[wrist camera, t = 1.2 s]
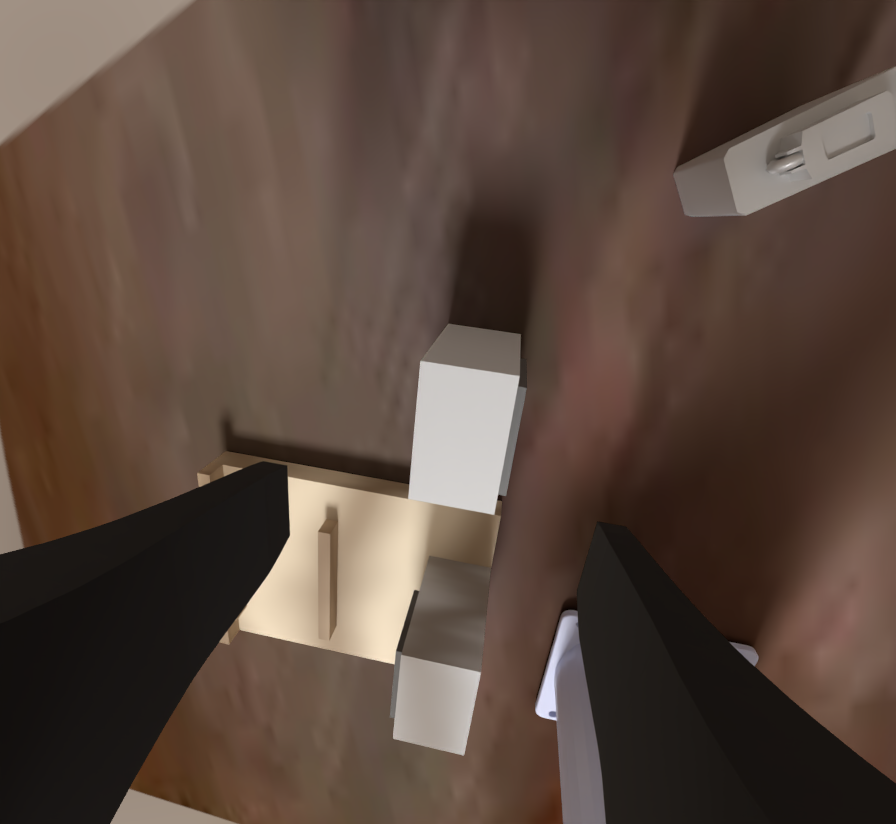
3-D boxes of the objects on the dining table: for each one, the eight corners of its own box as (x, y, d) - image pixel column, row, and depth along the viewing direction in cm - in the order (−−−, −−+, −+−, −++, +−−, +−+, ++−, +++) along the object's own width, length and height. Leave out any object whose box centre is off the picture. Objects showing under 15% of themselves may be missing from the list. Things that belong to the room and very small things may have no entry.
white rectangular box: (528, 335, 18) (529, 377, 13) (508, 443, 20) (503, 516, 15) (448, 323, 19) (420, 360, 14) (436, 431, 21) (408, 499, 16)
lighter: (686, 219, 16) (823, 217, 9) (671, 169, 15) (803, 123, 8) (929, 107, 14) (1381, -19, 7) (921, 45, 13) (1403, -167, 6)
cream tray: (502, 501, 21) (493, 612, 15) (471, 661, 26) (455, 797, 20) (225, 451, 23) (116, 534, 17) (241, 611, 27) (159, 723, 21)
